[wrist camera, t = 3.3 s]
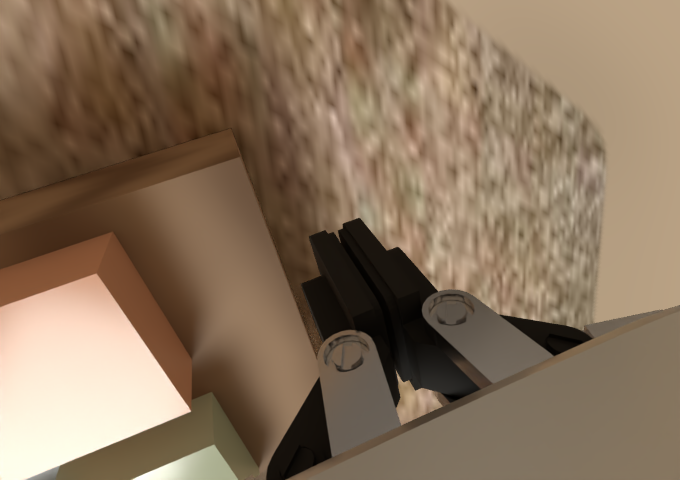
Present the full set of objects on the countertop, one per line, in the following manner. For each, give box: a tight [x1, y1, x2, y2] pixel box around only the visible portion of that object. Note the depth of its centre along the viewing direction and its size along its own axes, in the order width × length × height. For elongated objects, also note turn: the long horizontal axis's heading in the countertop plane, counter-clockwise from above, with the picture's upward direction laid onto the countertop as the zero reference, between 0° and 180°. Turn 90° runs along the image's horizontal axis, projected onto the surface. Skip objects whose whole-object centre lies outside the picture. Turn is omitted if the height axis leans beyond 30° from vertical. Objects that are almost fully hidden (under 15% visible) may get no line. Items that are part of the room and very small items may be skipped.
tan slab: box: [0, 128, 320, 474], centre depth 18 cm, size 11×16×4 cm
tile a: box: [0, 232, 192, 480], centre depth 13 cm, size 6×6×2 cm
